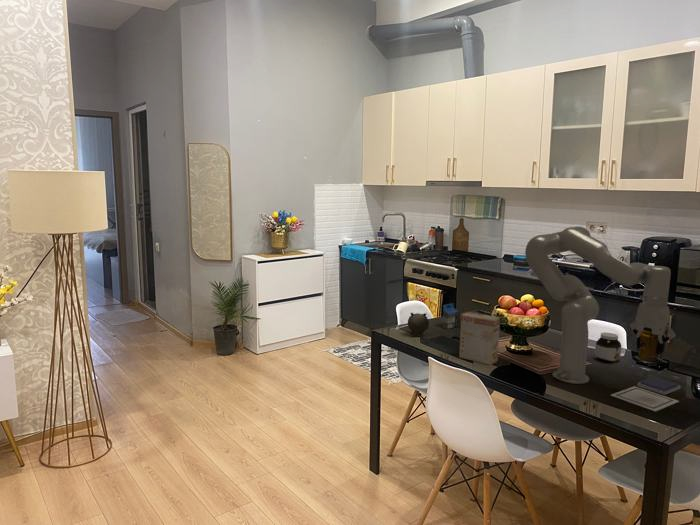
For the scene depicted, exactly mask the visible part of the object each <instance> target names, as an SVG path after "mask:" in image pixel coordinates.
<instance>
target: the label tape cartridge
mask: <svg viewBox="0 0 700 525" xmlns="http://www.w3.org/2000/svg"><path fill="white" fill-rule="evenodd" d="M454 304H455V303H454V302H453V303H452V302H451V303H447V304H443V306H442V326H441V329H444V328H445V330H451V329H454V327H455V328H458V327H459V316H460V315H459V314H460V311H458V310H457V308H455V306H454ZM457 326H458V327H457ZM450 328H451V329H450Z"/></svg>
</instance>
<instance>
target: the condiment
mask: <svg viewBox="0 0 700 525" xmlns="http://www.w3.org/2000/svg"><path fill="white" fill-rule="evenodd" d="M643 329H644V330H643V332H642V333H641V336H640V346H639V349H638V355H634V356H632V357H634V358H635V359H636V360H639V361H641V362H643V363H647V364H659V363H667V361H666V360H665V359H664V360H663V359H662V358H659V354H657V353H656V351H657V343H659V339H658V336H657V335H653V334H652V329H650V328H647V327H644V328H643Z"/></svg>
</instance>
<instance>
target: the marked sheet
mask: <svg viewBox="0 0 700 525" xmlns="http://www.w3.org/2000/svg"><path fill="white" fill-rule="evenodd" d="M610 396H611V397H614V398H616V399H619V400H622V401H625V402H627V403H630V404H633V405H635V406H639V407H642V408H644V409H647V410H650V411H653V412H658V411H661V410H663V409H666V408H667V407H668V408H669V407H670V406H672V405H674V404H676V403H680V401H679V400H678V399H674V398H671V397H669V396H666V395H663V394H660V393H657V392H654V391H651V390H648V389H645V388H642V387H639V386H632V387H628V388H626V389H623V390H620V391H618V392H614V393H611V394H610Z"/></svg>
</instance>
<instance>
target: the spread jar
mask: <svg viewBox="0 0 700 525" xmlns="http://www.w3.org/2000/svg"><path fill="white" fill-rule="evenodd" d="M594 346H595V348H594V356H595V358H596V359H597V360H598V361H600V362H602V363H606V364H614V363H617V362H618V361H619V360H620V357H621V353H622V344H621V342H620V341H619V335H618V334H616V333H612V332H601V333H600V337H599V338H598V339H597V341H596V343H595V345H594Z"/></svg>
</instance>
